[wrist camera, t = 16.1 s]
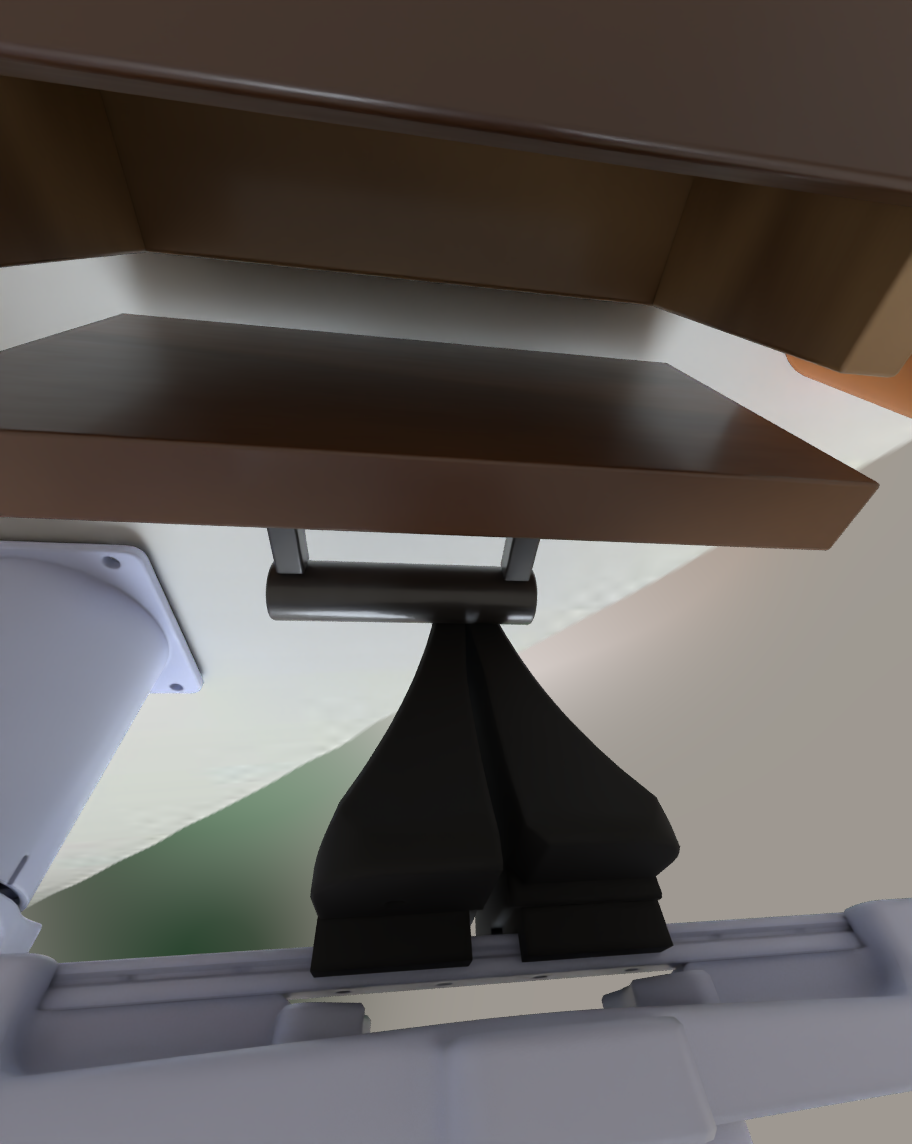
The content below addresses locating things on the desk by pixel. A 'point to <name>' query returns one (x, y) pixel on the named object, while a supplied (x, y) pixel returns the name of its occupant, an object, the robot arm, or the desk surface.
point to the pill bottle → (865, 384)
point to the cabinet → (527, 75)
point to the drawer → (422, 348)
